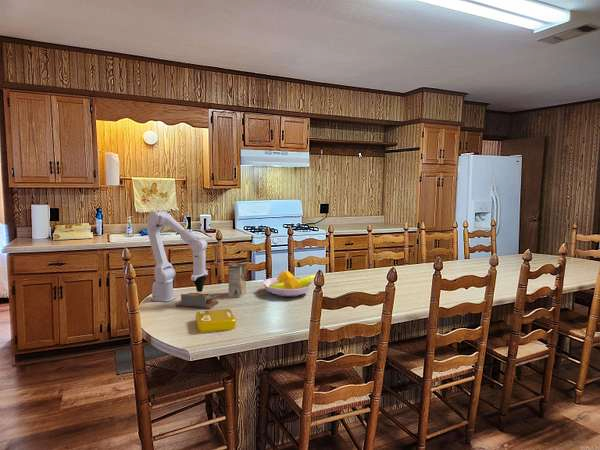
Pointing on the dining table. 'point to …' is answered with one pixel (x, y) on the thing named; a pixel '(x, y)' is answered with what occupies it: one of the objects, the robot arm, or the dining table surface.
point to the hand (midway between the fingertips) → (199, 291)
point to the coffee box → (237, 280)
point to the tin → (208, 297)
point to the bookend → (193, 300)
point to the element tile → (215, 320)
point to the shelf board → (208, 306)
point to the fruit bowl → (288, 284)
